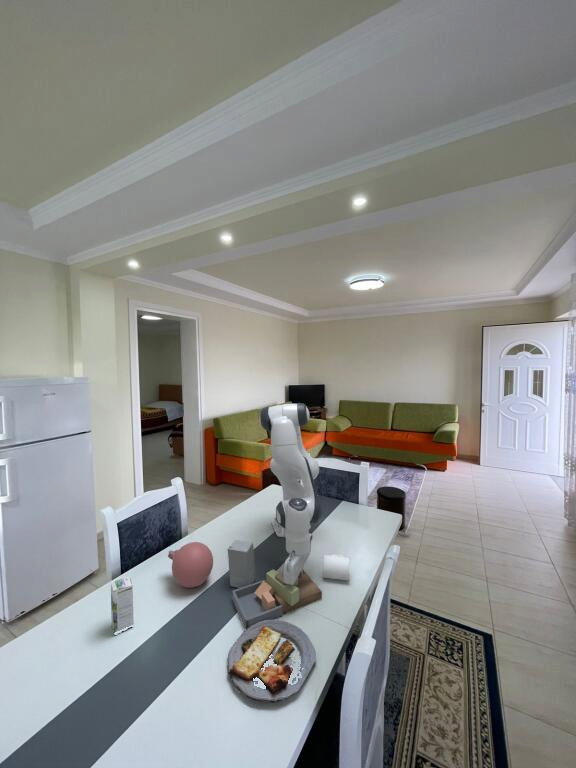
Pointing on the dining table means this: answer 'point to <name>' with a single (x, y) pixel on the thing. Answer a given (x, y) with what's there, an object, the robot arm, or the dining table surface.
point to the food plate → (256, 651)
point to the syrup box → (121, 603)
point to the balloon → (191, 564)
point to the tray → (252, 606)
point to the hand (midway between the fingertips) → (297, 580)
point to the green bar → (282, 587)
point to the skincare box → (241, 563)
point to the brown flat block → (301, 595)
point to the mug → (336, 567)
